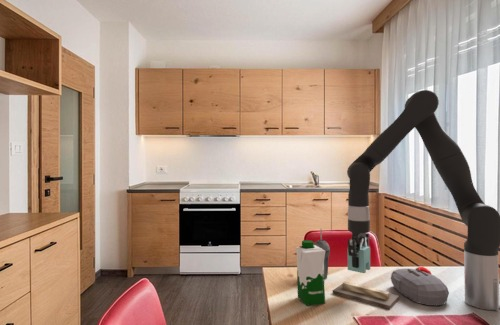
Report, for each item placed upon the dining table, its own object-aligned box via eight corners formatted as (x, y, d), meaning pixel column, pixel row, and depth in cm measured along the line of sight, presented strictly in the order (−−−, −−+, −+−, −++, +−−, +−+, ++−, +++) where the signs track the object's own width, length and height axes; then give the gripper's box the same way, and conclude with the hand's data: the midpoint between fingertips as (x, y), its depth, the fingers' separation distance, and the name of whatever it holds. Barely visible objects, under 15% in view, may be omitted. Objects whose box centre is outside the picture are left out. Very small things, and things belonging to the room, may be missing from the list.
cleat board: (399, 299, 112) (399, 290, 112) (389, 309, 104) (389, 299, 104) (344, 285, 125) (344, 277, 125) (332, 293, 117) (332, 284, 117)
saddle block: (370, 269, 116) (370, 246, 116) (364, 273, 112) (363, 250, 112) (354, 265, 120) (354, 244, 120) (347, 269, 116) (347, 247, 116)
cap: (431, 278, 122) (435, 267, 126) (415, 271, 125) (419, 259, 129) (426, 290, 127) (429, 278, 131) (410, 282, 130) (414, 271, 133)
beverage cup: (311, 279, 131) (310, 230, 131) (313, 273, 138) (312, 227, 138) (330, 281, 129) (329, 231, 129) (331, 275, 136) (330, 227, 136)
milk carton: (316, 293, 117) (315, 238, 117) (329, 304, 108) (328, 244, 108) (294, 296, 115) (293, 240, 115) (305, 307, 106) (304, 247, 106)
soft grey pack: (385, 286, 124) (417, 309, 104) (384, 264, 124) (417, 283, 104) (421, 284, 126) (461, 306, 106) (421, 262, 126) (460, 281, 106)
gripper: (360, 222, 108) (361, 272, 108) (376, 216, 119) (376, 262, 119) (339, 219, 113) (340, 268, 113) (356, 214, 124) (357, 258, 124)
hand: (359, 264), depth 116 cm, fingers closed on saddle block, 5 cm apart
